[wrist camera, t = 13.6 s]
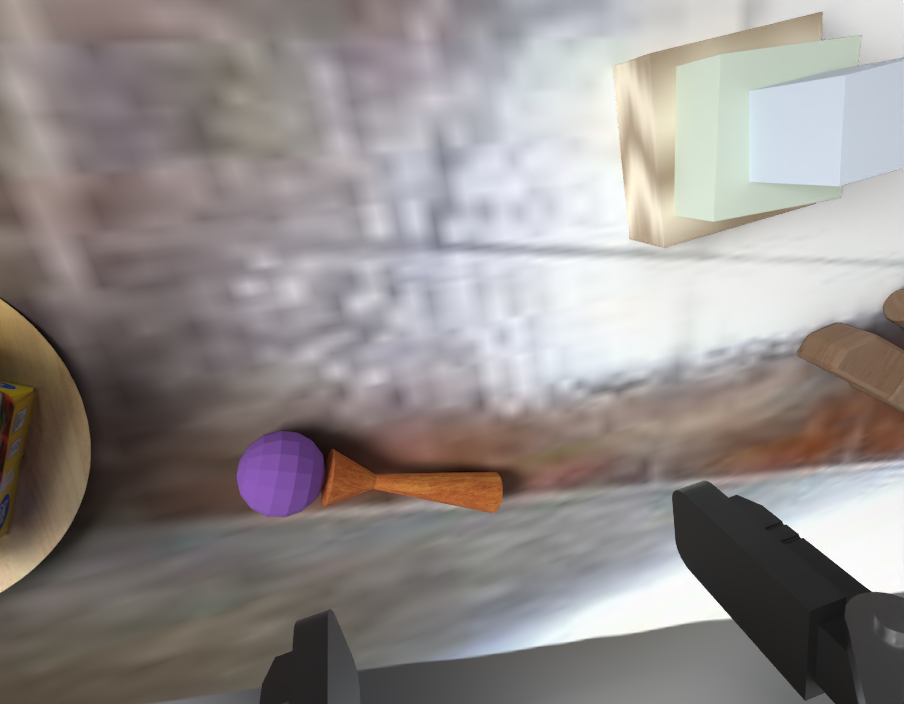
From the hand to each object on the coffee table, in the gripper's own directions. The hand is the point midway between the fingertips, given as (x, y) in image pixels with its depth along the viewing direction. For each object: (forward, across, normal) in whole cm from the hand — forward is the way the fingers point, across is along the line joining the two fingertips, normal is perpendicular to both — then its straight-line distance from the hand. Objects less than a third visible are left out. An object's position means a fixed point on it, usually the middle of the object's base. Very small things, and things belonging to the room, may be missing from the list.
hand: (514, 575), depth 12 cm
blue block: (+20, -25, -5) cm, 32 cm away
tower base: (+29, -25, -5) cm, 38 cm away
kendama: (+29, +5, +14) cm, 32 cm away
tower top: (+24, -25, -5) cm, 35 cm away
